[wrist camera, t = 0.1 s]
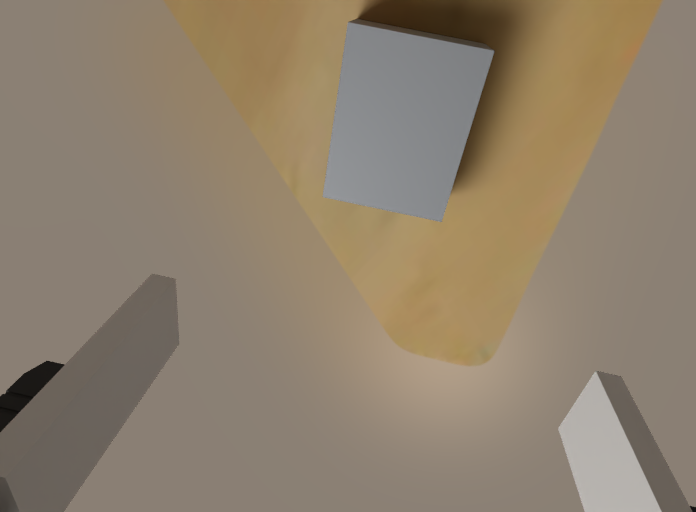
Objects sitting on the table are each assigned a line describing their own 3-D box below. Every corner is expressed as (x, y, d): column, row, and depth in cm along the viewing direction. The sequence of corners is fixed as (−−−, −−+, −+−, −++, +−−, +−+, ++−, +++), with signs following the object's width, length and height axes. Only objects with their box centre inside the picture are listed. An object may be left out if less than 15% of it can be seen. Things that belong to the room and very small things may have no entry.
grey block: (356, 18, 34) (348, 22, 30) (484, 43, 34) (494, 50, 29) (332, 175, 41) (322, 196, 37) (439, 197, 40) (441, 221, 36)
